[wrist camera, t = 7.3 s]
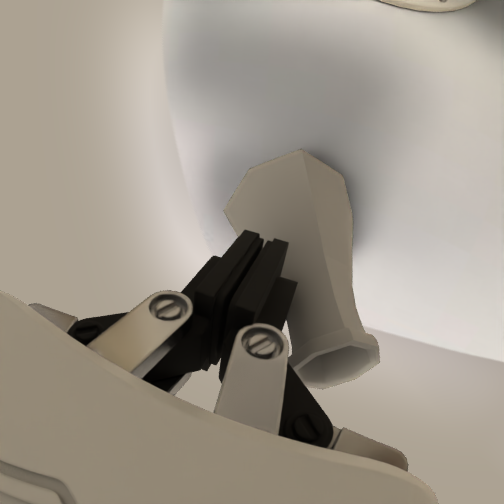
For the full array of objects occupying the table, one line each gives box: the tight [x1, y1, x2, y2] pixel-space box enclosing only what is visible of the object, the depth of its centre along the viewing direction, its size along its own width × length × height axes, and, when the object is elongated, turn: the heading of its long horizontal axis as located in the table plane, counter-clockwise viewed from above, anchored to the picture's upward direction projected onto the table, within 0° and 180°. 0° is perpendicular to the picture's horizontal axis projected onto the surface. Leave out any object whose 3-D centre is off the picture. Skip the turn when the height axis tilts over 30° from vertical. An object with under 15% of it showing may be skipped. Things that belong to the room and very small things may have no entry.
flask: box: [223, 149, 380, 389], centre depth 13 cm, size 7×7×10 cm
